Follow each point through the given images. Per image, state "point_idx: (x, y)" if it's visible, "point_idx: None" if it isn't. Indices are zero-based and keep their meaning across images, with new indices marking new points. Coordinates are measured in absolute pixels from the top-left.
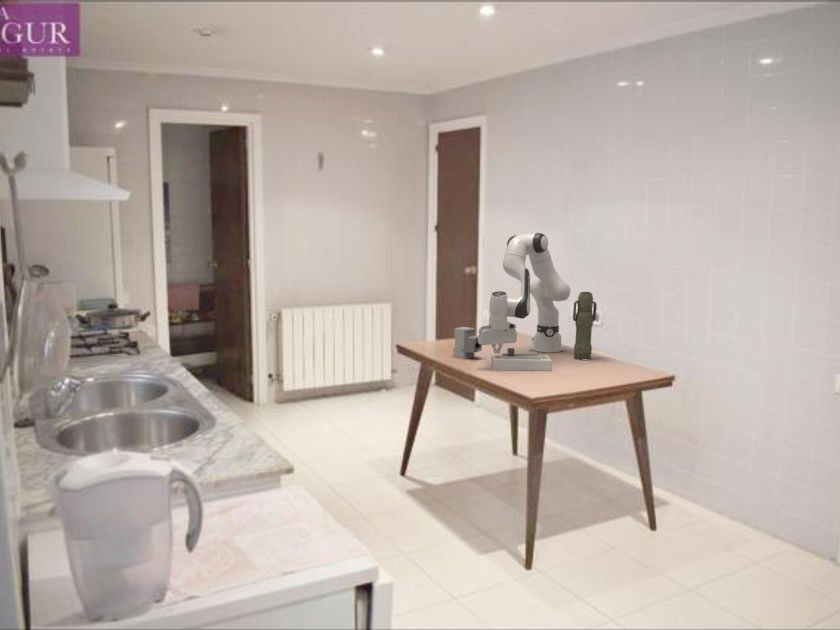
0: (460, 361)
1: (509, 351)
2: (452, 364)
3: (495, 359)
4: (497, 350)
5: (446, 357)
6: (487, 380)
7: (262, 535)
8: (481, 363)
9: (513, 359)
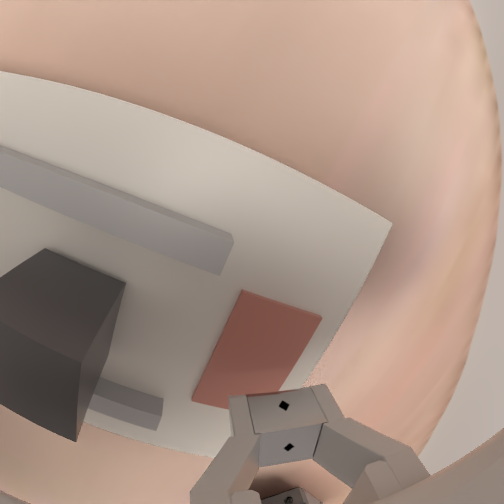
0: None
1: (75, 322)
2: (433, 399)
3: (368, 233)
4: (298, 414)
5: None
6: (469, 7)
7: None
8: None
9: (102, 145)
